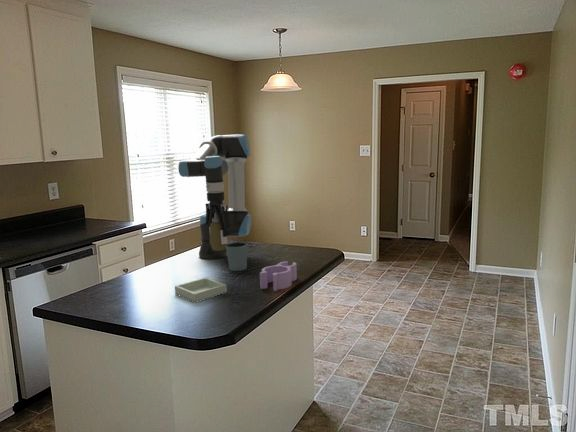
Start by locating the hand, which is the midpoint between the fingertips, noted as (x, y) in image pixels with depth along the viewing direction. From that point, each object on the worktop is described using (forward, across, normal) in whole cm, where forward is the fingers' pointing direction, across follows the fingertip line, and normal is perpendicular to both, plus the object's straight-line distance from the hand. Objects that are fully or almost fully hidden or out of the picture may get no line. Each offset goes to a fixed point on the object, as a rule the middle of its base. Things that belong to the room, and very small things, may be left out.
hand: (218, 242), depth 207 cm
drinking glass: (+17, -6, +14) cm, 22 cm away
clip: (+17, +26, +12) cm, 34 cm away
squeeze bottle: (+4, 0, 0) cm, 4 cm away
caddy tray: (+16, +12, -18) cm, 27 cm away
